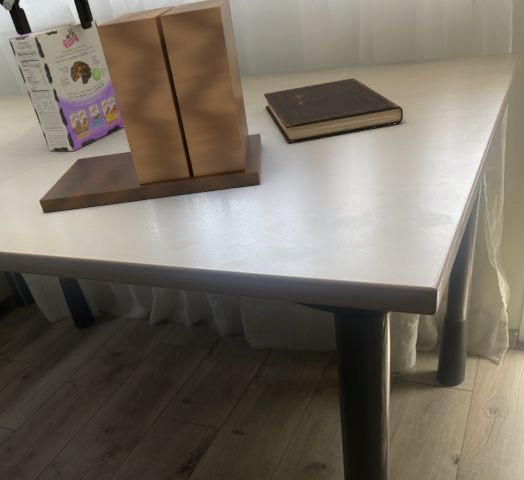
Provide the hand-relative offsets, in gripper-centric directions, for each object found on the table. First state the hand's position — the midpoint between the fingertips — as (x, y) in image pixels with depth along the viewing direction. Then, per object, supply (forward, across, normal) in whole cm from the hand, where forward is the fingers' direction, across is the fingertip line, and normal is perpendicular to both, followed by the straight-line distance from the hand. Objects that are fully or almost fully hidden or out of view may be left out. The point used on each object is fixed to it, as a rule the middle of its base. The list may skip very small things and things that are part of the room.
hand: (57, 33), depth 82 cm
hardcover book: (+16, +40, -7) cm, 43 cm away
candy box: (+16, 0, 0) cm, 16 cm away
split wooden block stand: (+16, +16, -26) cm, 35 cm away
